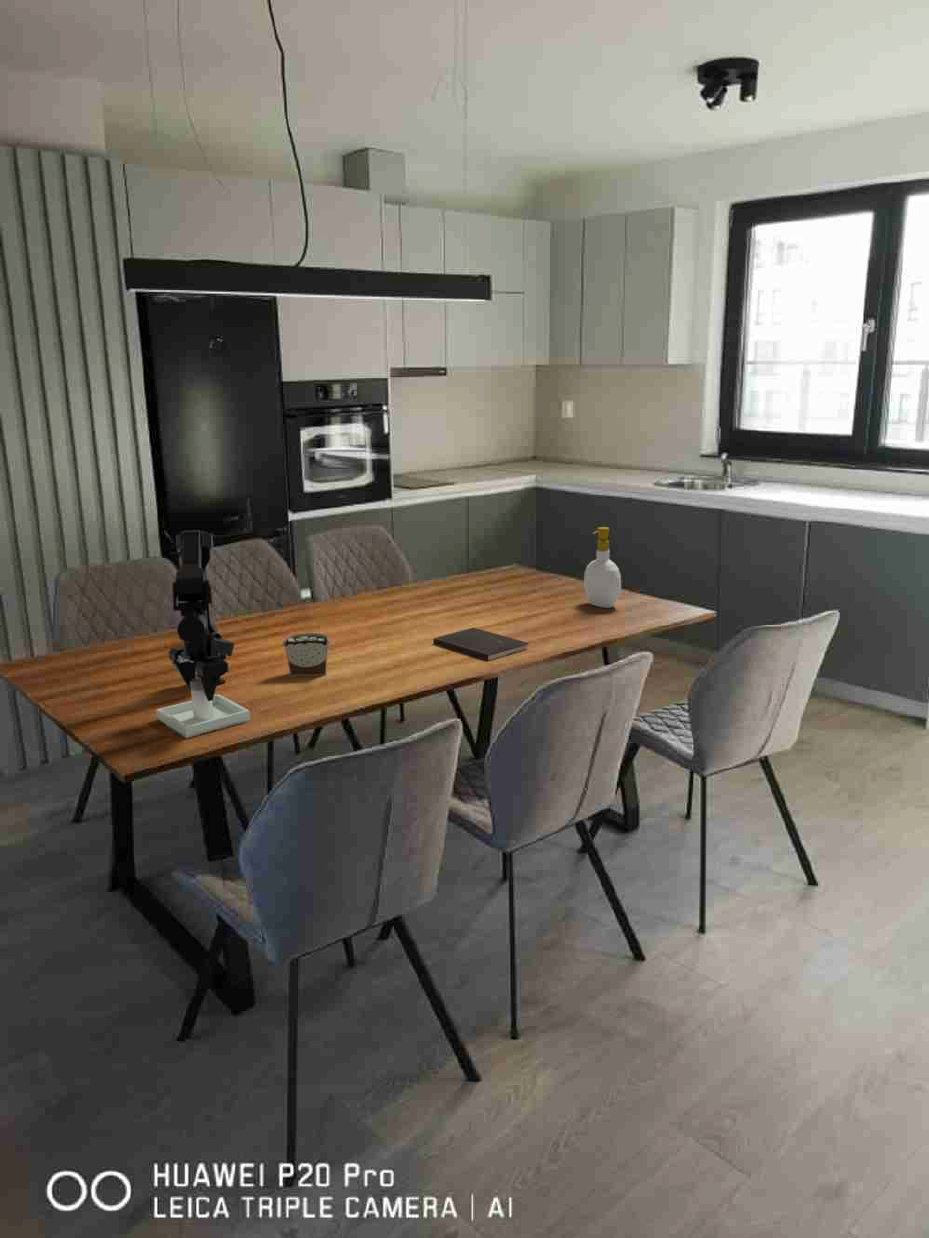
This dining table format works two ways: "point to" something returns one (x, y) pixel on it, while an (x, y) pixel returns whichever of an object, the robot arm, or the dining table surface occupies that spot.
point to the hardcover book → (480, 643)
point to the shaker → (200, 702)
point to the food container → (306, 654)
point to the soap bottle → (602, 575)
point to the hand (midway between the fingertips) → (201, 695)
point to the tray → (185, 724)
